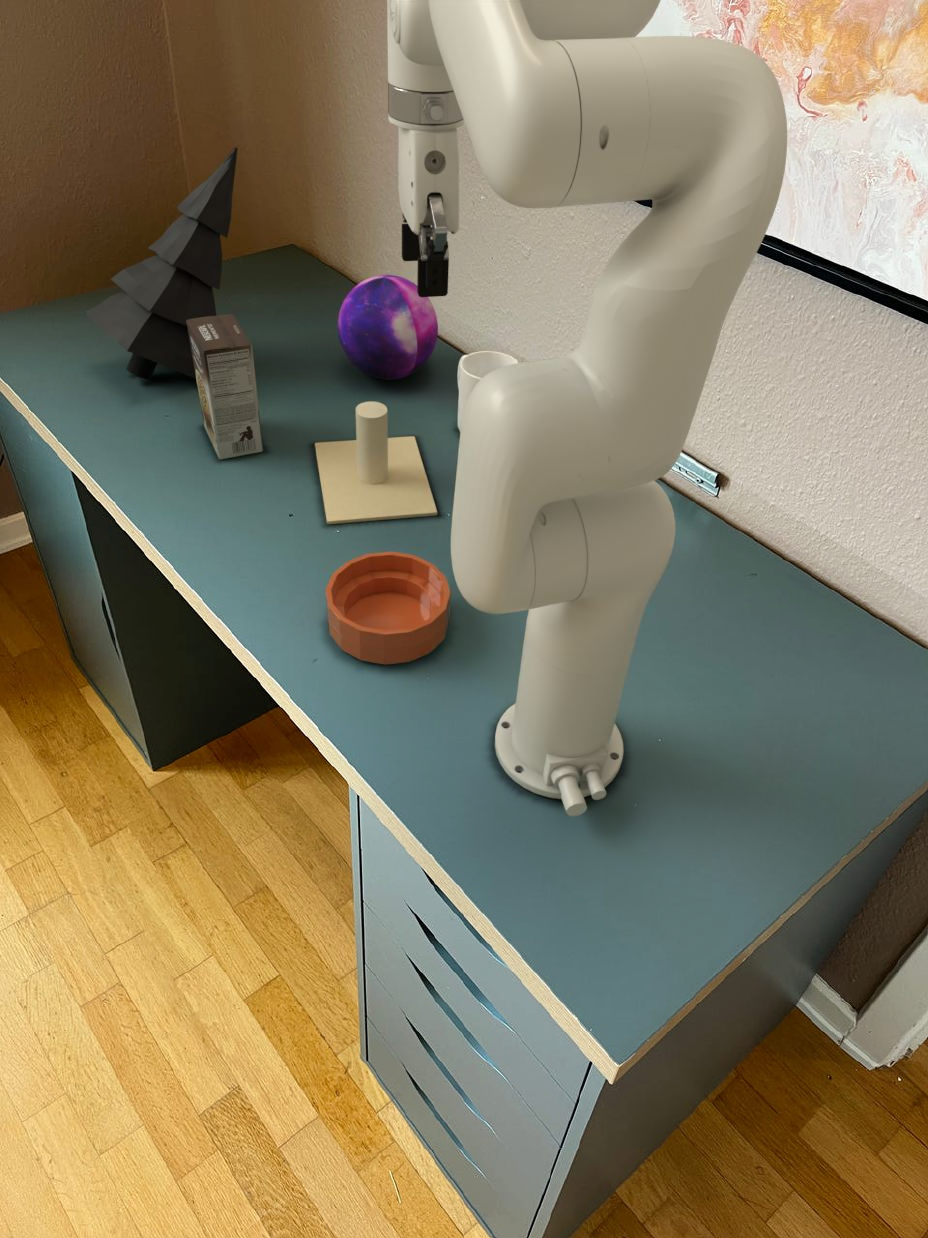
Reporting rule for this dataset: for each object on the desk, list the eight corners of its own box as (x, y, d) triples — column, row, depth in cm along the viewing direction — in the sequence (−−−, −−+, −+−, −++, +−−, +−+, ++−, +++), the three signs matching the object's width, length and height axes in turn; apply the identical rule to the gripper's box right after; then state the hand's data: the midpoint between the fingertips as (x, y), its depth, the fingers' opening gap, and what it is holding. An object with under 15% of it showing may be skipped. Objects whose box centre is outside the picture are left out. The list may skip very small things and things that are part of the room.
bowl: (458, 659, 99) (460, 626, 96) (335, 673, 97) (332, 640, 93) (436, 580, 108) (437, 547, 105) (323, 591, 106) (321, 557, 102)
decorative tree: (202, 408, 139) (304, 187, 130) (115, 379, 128) (220, 133, 118) (157, 368, 147) (250, 157, 138) (71, 338, 135) (166, 104, 126)
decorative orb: (395, 341, 151) (395, 250, 141) (456, 378, 143) (460, 284, 133) (320, 368, 143) (314, 274, 133) (380, 408, 136) (379, 311, 125)
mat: (437, 515, 117) (437, 512, 117) (327, 524, 115) (327, 521, 115) (414, 438, 130) (414, 435, 130) (314, 445, 128) (314, 442, 127)
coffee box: (202, 427, 130) (184, 318, 119) (247, 418, 132) (233, 311, 121) (218, 461, 124) (200, 350, 113) (265, 452, 126) (252, 342, 115)
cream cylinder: (389, 483, 121) (389, 416, 114) (359, 485, 120) (357, 418, 114) (385, 466, 124) (385, 400, 117) (356, 468, 123) (353, 402, 116)
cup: (476, 450, 129) (481, 385, 122) (433, 410, 136) (435, 346, 129) (525, 436, 132) (532, 371, 125) (480, 397, 139) (485, 334, 132)
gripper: (484, 129, 84) (474, 308, 96) (446, 81, 97) (441, 246, 108) (403, 130, 83) (403, 312, 95) (375, 82, 95) (378, 248, 107)
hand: (423, 276), depth 101 cm, fingers open, 9 cm apart
